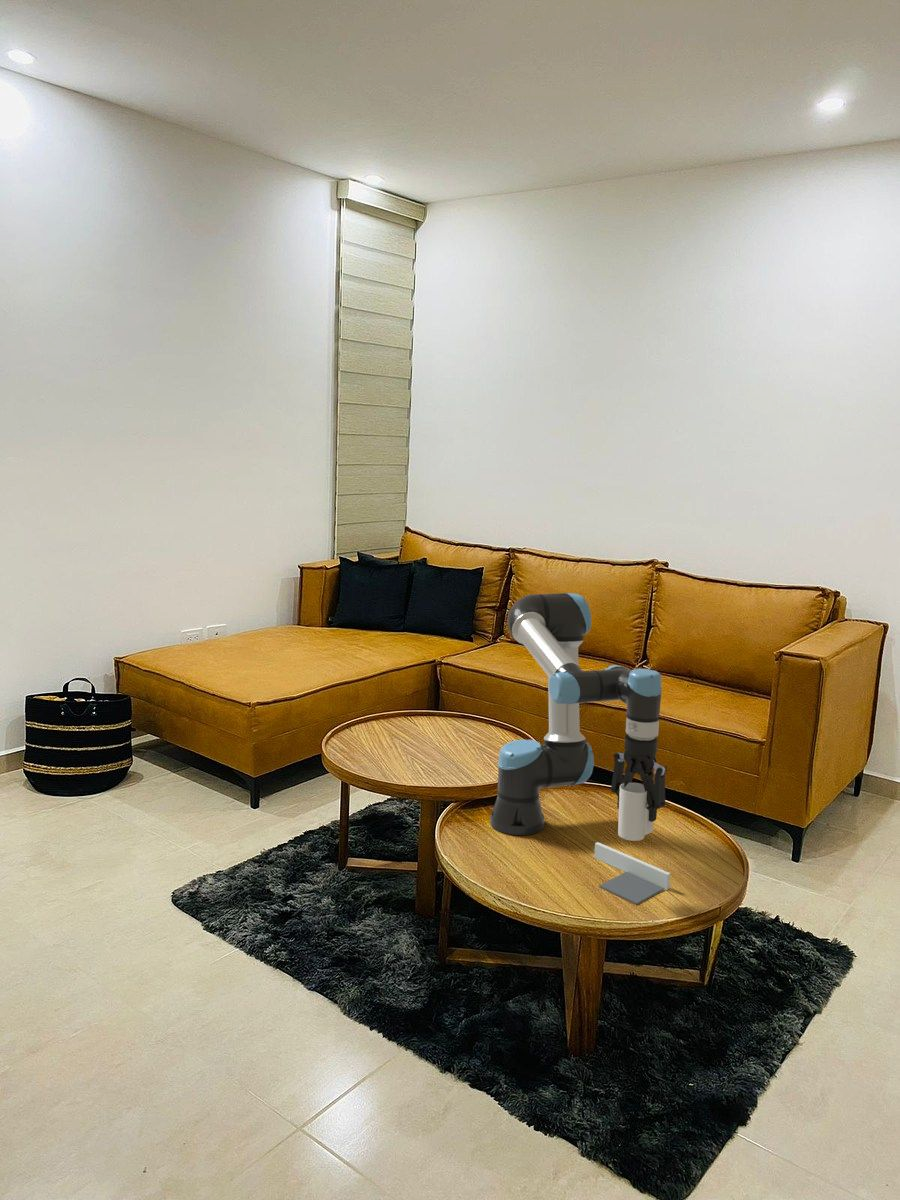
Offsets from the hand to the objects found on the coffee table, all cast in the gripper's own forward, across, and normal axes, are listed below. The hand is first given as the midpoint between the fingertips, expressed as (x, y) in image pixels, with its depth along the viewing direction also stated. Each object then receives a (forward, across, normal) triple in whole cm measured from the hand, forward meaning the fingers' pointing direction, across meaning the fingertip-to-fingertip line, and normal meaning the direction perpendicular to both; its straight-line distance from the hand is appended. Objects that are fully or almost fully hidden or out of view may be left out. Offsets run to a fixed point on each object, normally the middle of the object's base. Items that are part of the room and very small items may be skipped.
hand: (635, 827), depth 213 cm
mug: (+2, 0, 0) cm, 2 cm away
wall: (+16, -5, +6) cm, 18 cm away
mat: (+16, 0, 0) cm, 16 cm away
